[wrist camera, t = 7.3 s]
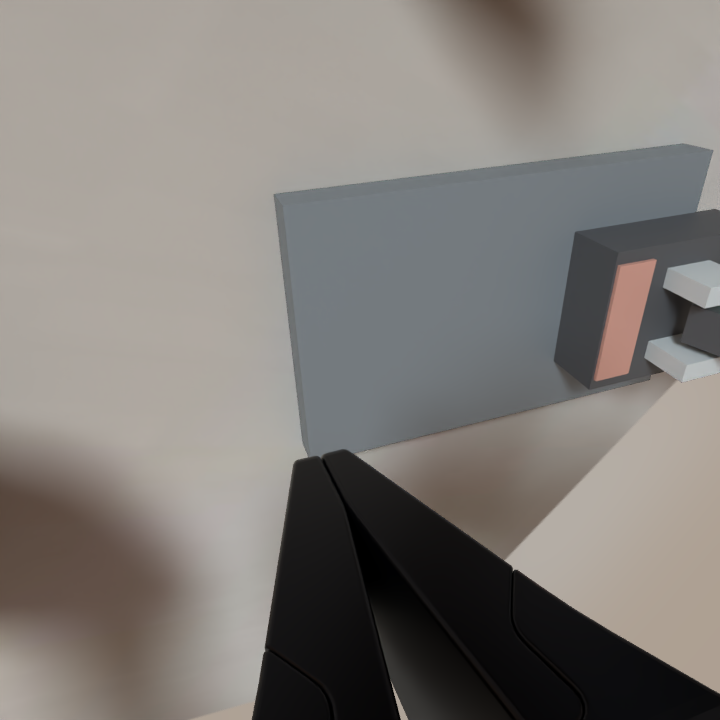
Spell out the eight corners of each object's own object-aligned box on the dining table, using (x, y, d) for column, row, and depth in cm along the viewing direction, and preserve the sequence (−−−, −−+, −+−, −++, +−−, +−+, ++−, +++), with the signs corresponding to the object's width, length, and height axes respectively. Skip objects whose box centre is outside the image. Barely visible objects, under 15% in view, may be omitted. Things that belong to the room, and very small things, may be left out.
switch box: (302, 442, 25) (341, 543, 20) (273, 194, 19) (318, 251, 15) (644, 361, 30) (743, 427, 25) (702, 141, 24) (845, 171, 19)
